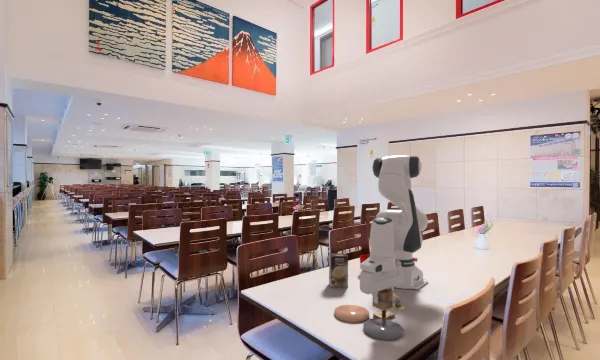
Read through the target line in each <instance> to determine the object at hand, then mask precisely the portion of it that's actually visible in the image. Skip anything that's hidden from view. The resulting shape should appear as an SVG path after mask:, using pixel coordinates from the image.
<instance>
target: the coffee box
mask: <svg viewBox="0 0 600 360" xmlns="http://www.w3.org/2000/svg"><path fill="white" fill-rule="evenodd" d="M328 261H329V263H328V264H329V265H328V267H329V269H328V270H329V271H328V279H329V280H328V285H329V287H330V288H349V255H348V254H347V253H329V259H328Z"/></svg>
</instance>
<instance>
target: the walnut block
mask: <svg viewBox="0 0 600 360" xmlns="http://www.w3.org/2000/svg"><path fill="white" fill-rule="evenodd" d="M393 293H394V290H393V291H392V290H389V289H384V290H381V291H378V294H377V296H378V298H380V303H377V304H376V303H374V301H373V300H372V307H374V308H377V309H378V310H380V311H382V310H383V311H384V310H386V311H388V310H389V309H392V307H393V304H394V303H393V300H394V299H393V298H394V297H393Z"/></svg>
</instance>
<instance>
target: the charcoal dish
mask: <svg viewBox="0 0 600 360" xmlns="http://www.w3.org/2000/svg"><path fill="white" fill-rule="evenodd" d="M362 327H363V328H362V329H363V332H364V334H366V335H367V336H369V337H370V338H372V339H376V340H379V341H388V342H389V341H396V340H399V339H401V338H402V337H403V336H404V329H403V327H402V325H400V323H398V322H397V321H393V320H391V319H389V320H387V319H376V318H369V319H368V320H366V321H364V322H363V326H362Z"/></svg>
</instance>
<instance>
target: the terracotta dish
mask: <svg viewBox="0 0 600 360" xmlns="http://www.w3.org/2000/svg"><path fill="white" fill-rule="evenodd" d="M333 311H334V313H333V315H334V316H335V318H336V319H338V320H339V321H342V322H345V323H351V324H355V323H364V322H366V321H367V320H369V319H370V311H369V310H368V309H367V308H365V307H363V306H360V305H356V304H343V305H339V306H337V307H335V308H334V310H333Z"/></svg>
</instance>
